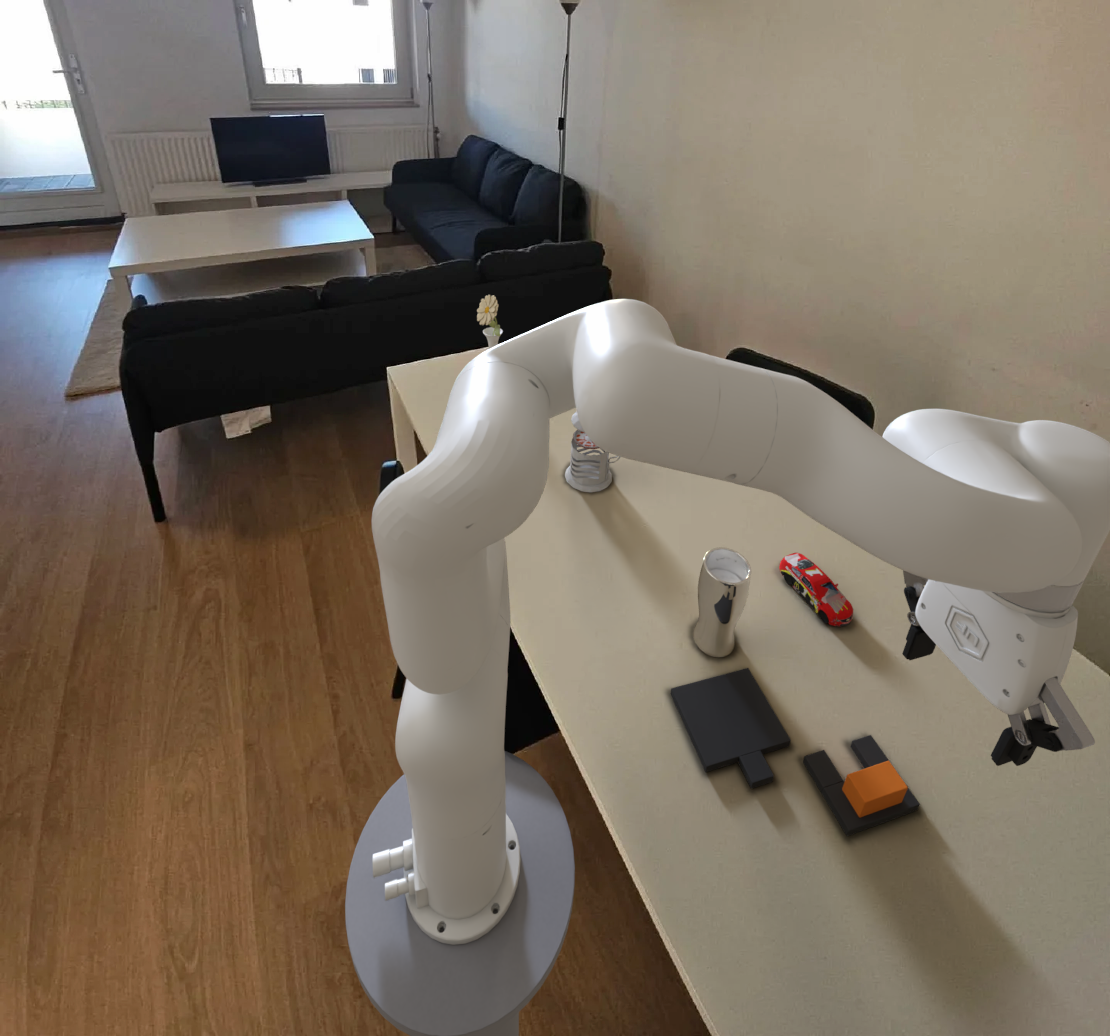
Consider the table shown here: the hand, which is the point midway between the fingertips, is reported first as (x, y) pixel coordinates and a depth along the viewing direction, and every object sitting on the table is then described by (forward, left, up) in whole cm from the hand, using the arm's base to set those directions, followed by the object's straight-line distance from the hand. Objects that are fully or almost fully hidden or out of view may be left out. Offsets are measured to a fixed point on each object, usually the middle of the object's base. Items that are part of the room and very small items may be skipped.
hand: (958, 702), depth 56 cm
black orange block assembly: (+2, +7, -27) cm, 28 cm away
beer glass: (-5, +29, -27) cm, 40 cm away
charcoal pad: (-9, +17, -27) cm, 33 cm away
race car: (+15, +32, -28) cm, 45 cm away
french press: (-11, +68, -27) cm, 74 cm away
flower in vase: (-24, +110, -27) cm, 116 cm away
